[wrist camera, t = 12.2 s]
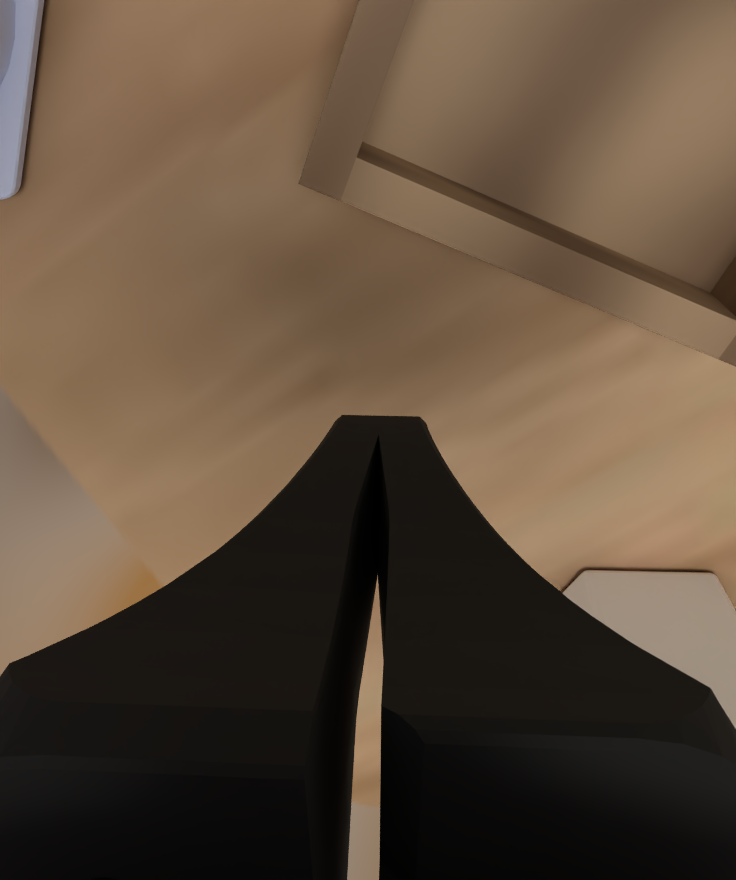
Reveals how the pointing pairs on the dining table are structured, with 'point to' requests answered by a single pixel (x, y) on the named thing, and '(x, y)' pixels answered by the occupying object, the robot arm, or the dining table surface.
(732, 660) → the jar
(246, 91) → the dining table surface
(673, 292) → the brown wooden tray
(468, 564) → the robot arm
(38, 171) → the dining table surface
